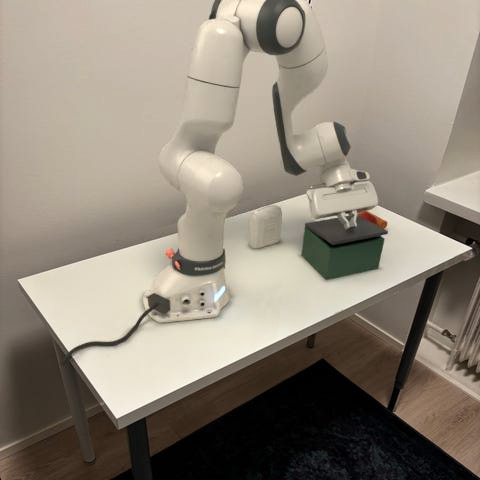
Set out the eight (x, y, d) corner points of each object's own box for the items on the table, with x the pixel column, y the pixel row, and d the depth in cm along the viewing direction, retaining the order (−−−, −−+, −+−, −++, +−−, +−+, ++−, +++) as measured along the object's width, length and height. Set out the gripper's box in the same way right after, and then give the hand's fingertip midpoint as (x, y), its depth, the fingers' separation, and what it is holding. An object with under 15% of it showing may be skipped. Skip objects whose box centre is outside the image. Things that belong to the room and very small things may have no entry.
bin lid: (387, 234, 139) (388, 231, 139) (333, 245, 134) (333, 241, 133) (356, 216, 151) (356, 214, 151) (304, 226, 146) (304, 223, 145)
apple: (374, 242, 160) (379, 219, 155) (349, 239, 161) (353, 216, 156) (374, 231, 166) (378, 208, 161) (349, 228, 167) (353, 206, 162)
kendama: (376, 221, 162) (340, 193, 175) (375, 236, 167) (339, 208, 180) (391, 214, 164) (354, 188, 177) (389, 229, 168) (353, 202, 181)
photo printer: (273, 236, 161) (276, 200, 153) (281, 242, 158) (284, 205, 151) (247, 244, 156) (248, 207, 149) (255, 250, 153) (256, 213, 146)
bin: (378, 268, 147) (384, 238, 141) (326, 280, 141) (330, 249, 135) (350, 245, 157) (355, 217, 151) (301, 255, 152) (304, 226, 146)
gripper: (309, 181, 134) (323, 230, 133) (373, 172, 141) (387, 218, 140) (300, 191, 140) (313, 238, 139) (361, 181, 147) (375, 226, 146)
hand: (351, 228), depth 140 cm, fingers closed, pressing on bin lid
